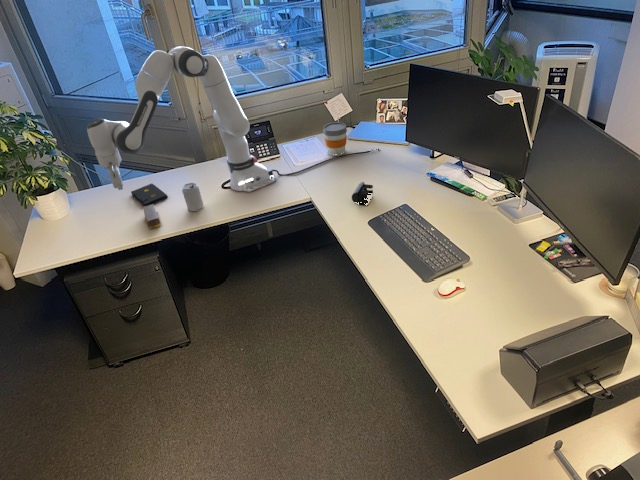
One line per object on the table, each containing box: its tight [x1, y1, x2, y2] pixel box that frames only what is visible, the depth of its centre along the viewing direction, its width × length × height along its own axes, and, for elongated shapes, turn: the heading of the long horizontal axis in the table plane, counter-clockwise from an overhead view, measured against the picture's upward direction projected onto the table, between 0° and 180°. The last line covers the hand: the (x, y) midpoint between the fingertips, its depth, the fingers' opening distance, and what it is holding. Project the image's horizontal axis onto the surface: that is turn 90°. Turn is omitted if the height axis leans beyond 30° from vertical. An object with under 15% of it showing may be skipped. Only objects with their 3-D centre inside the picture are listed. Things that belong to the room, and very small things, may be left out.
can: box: [181, 182, 204, 212], centre depth 215 cm, size 8×8×12 cm
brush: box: [142, 203, 161, 230], centre depth 211 cm, size 5×14×4 cm, turn 25°
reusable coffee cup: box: [322, 121, 348, 157], centre depth 250 cm, size 13×13×15 cm
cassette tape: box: [130, 183, 168, 207], centre depth 231 cm, size 18×12×2 cm, turn 40°
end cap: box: [351, 181, 374, 207], centre depth 208 cm, size 10×7×7 cm
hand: (120, 188), depth 199 cm, fingers closed
